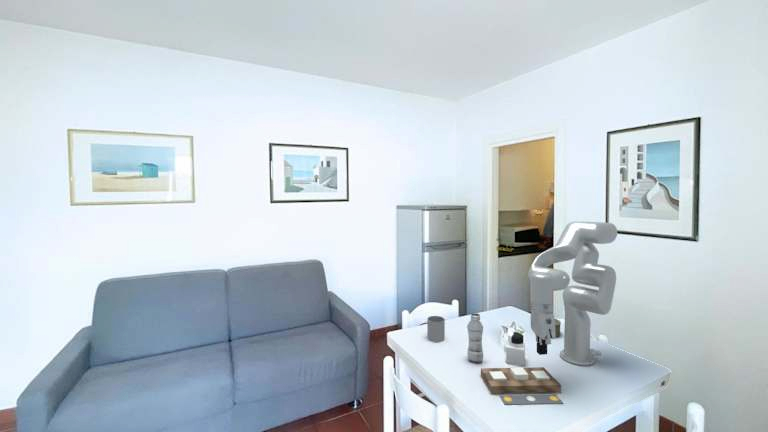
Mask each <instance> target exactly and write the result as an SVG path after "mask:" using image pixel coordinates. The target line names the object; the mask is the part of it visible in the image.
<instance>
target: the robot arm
mask: <svg viewBox="0 0 768 432" xmlns="http://www.w3.org/2000/svg"><path fill="white" fill-rule="evenodd" d="M617 236H618V229H617V226H616V225H615V224H614V223H611V222H601V221H572V222H569V223H567V224H566V225H565V227H564V229H563V231H562V232H561V234H560V236H559V238H558V240H557V242H556V243H555V245H554V246H552V247H550V248H547V250H544V251H543V252H541V253H540V254H538V255H537V256H536V257H535V259H534V260H533V262H532V263H531V266H530V267H529V269H528V274H527V279H528V281H529V285H530V289H529V291H530V294H529V295H530V329H531V331H532V332H533V333H534V335H535V341H536V353H537V354H538V355H539V356H540V355H541V356H542V355H548V345H551V344H552V340H556V339H557V338H556V332H555V320H554V318H555V315H554V292H555V291H556V292H557V291H562V301H563V307H564V333H563V334H564V336H563V344H564V345H563V349H562V350H560V352H559V356H560V358H561V359H562V360H564V361H566V362H567V363H570V364H573V365H577V366H585V367H587V366H592V365H593V364H594V363H595V359H594V357H595V356H597V357H598V356H599V357H600V356H602V352H601V351H600V350H595V349H594V348H591V326H592V325H591V318H590V316H589V314H588V312H589V313H593V314H596V315H600V316H601V315H602V316H605V315H607V314H609V313H610V311H611V309H612V304H613V301H614V300H613V299H614V293H615V289H616V285H617V284H616V283H617V273H616V270H615V269H614V268H613V267H611V266H610V265H605V264H599V257H600V253H599V251H598V249H597V246H595V245H594V244H597V245H598V244H599V245H605V244H611V243H613V242H615V240H616V239H617ZM572 260H574V262H573V265H572V270H571V278H572V281H573V282H575V283H577V284H581V285H584V286H585V287H584V286H579V285H569V284H570V280H571V279H570V276H569V275H570V274H568V272H566V271H564V270H561V269H557V268H556V269H555V268H552V267H549V266H551V265H553V264H558V263H562V262H567V261H572ZM586 286H590V287H596V288H598V289H593V288H589V287H586ZM550 337H551V338H550ZM551 339H552V340H551Z"/></svg>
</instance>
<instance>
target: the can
mask: <svg viewBox="0 0 768 432" xmlns="http://www.w3.org/2000/svg"><path fill="white" fill-rule="evenodd" d="M554 320H555V332H556V338H555V339H558V338H559V339H560V336H561V323H562V322H561V321H560V320H559V319H556V318H555V317H554ZM550 338H551V337H550ZM551 339H552V338H551Z"/></svg>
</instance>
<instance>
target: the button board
mask: <svg viewBox="0 0 768 432" xmlns="http://www.w3.org/2000/svg"><path fill="white" fill-rule="evenodd" d="M510 368H511V367H492V368H491V367H489V368H488V367H487V368H486V367H484V368H483V367H482V368H480V378H481V379H482V380H483V382H484V384H485V386H486V388H487V390H488V392H489V393H490V394H491V395H545V394H562V384H561V383H560V382H559V381H558V380H557V379H556V378H555V377H554V376H553V375H552V374H551V373H550V372H549V371H548V370H547V369H546V368H545V367H543V366H542V367H534V366H533V367H522V368H523V369H524V370H525V371H526V372H527V373H528V380H514V379H513V377H512V376H511V375H510ZM493 371H502V373H503V374H504V375H505V377H506V378H507V381H493V380H492V378H491V377H490V375H489V372H493ZM531 371H544V372H545V373H546V374H547V375H548V376H549V377H550V380H536V379H535V378H534V377H533V375H532V374H531Z"/></svg>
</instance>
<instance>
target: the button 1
mask: <svg viewBox="0 0 768 432" xmlns="http://www.w3.org/2000/svg"><path fill="white" fill-rule="evenodd" d="M489 375H490V377H491V378H492V380H493V381H507V378H506V377H505V375H504V374H503V373H502V371H493V372H489Z"/></svg>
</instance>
